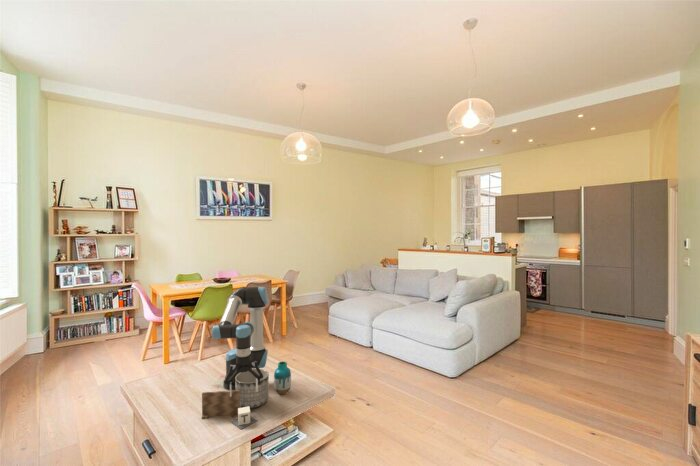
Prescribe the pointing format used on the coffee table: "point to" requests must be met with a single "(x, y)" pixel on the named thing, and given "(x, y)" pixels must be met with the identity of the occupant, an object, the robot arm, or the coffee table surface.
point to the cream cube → (243, 415)
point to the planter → (252, 389)
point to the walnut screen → (220, 403)
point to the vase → (282, 378)
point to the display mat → (243, 424)
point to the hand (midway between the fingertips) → (244, 393)
